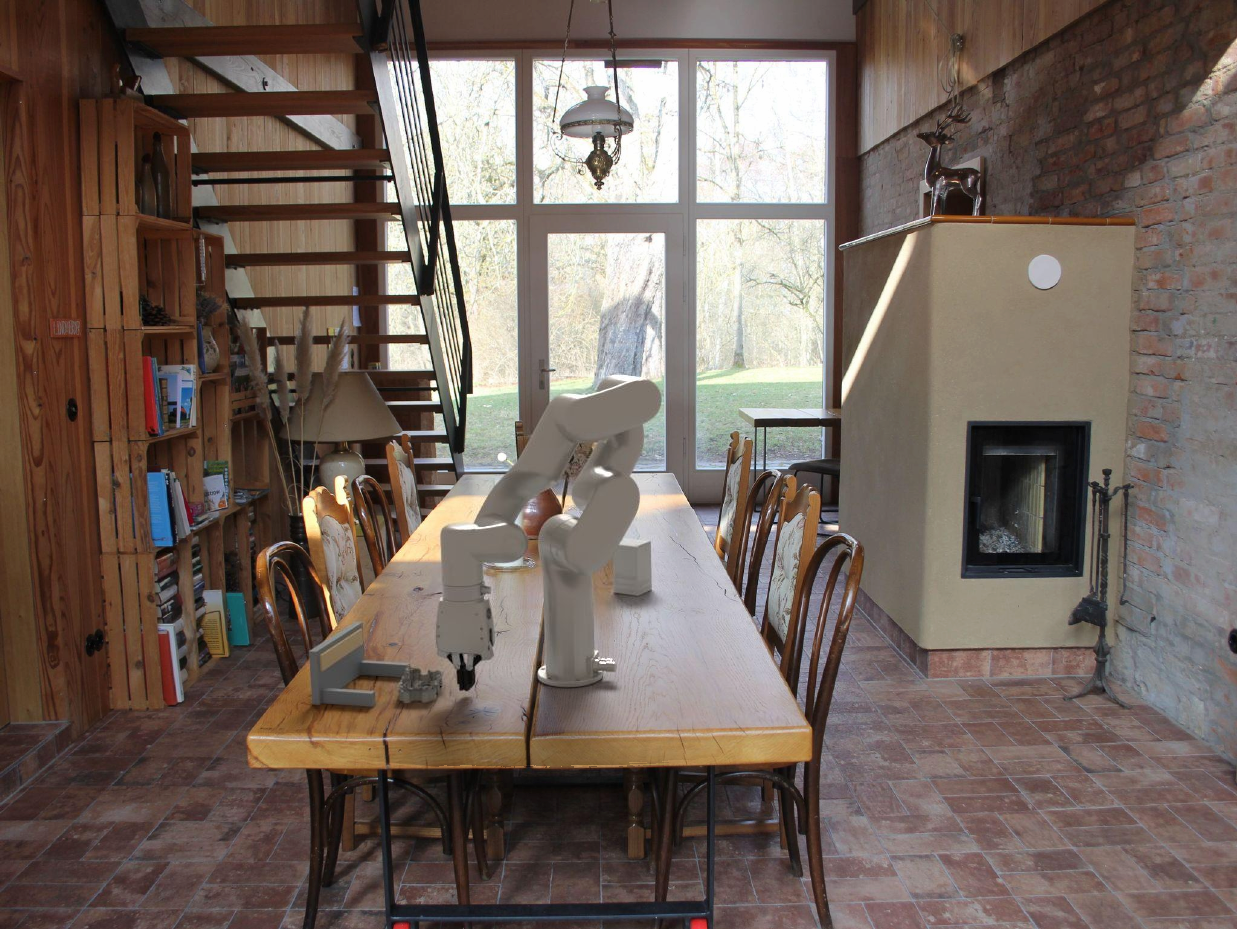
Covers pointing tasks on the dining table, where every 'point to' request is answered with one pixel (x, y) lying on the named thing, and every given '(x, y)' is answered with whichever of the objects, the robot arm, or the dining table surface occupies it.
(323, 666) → the display stand
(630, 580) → the supplement box
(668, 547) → the dining table surface
